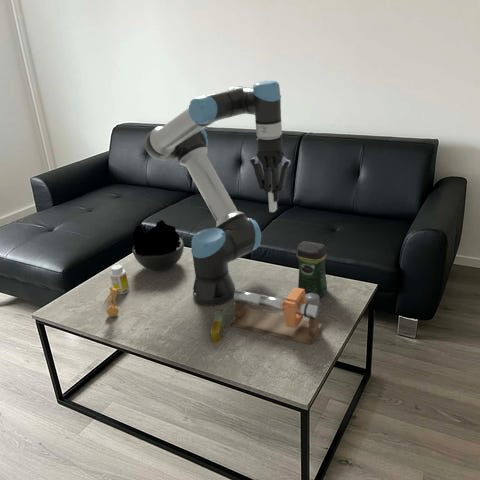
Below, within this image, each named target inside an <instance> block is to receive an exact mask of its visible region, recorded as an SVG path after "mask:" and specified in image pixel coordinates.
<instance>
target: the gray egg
mask: <svg viewBox="0 0 480 480" xmlns="http://www.w3.org/2000/svg"><path fill="white" fill-rule="evenodd" d="M305 302H306V304H307V303H309V304H310V305H315V306H318V313H319V314H320V297H319V295H318V294H316V293H307V294H306V295H305Z"/></svg>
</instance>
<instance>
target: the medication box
mask: <svg viewBox="0 0 480 480" xmlns="http://www.w3.org/2000/svg"><path fill="white" fill-rule="evenodd" d="M225 325H226V314H225V311H224V309H217V310H216V311H215V313H214V318H213V321H212V325H211V329H210V339H211V342H212V344H213V343H221V341H222V336H223V333H224V328H225Z"/></svg>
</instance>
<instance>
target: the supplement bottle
mask: <svg viewBox="0 0 480 480" xmlns="http://www.w3.org/2000/svg"><path fill="white" fill-rule="evenodd" d="M110 271H111V272H110V274H109V276H110V281H111V284H112V287H113V288H115V289H118V288H121V293H120V290H118V292H117V295H124V294H126V293H128V292H129V291H130V286H129V280H128V277H127V271H126V270H125V269H124V268H123V265H122V264H114V265H112V266H111V268H110Z"/></svg>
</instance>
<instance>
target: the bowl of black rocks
mask: <svg viewBox="0 0 480 480" xmlns="http://www.w3.org/2000/svg"><path fill="white" fill-rule="evenodd" d="M176 230H177V228H176V227H175V226H173V225H170V224H167V223H166V222H165V221H164V220H162V219H160V220H159V221H158V222H156V224H155V226H153V227H152V228H150V229H149V230H148V231H147V232H145V233H144V232H142V231H141V226H140V225H136V227H135V228H134V232H133V233H132V238H133V246H132V253H133V256H134V258H135V260H136V261H137V263H139V265H141V266H142V267H144V268H145V269H147V270H151V271H153V272H154V271H155V272H160V271H161V272H162V271H166V270H169V269H170V268H172V267H173V266H175V265H176V264H177V263H179V262H178V261H180V259H181V258H182V255H183V252H184V247H185V244H184V240H183V238H181V237H180V234H179V232H177V231H176Z"/></svg>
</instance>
